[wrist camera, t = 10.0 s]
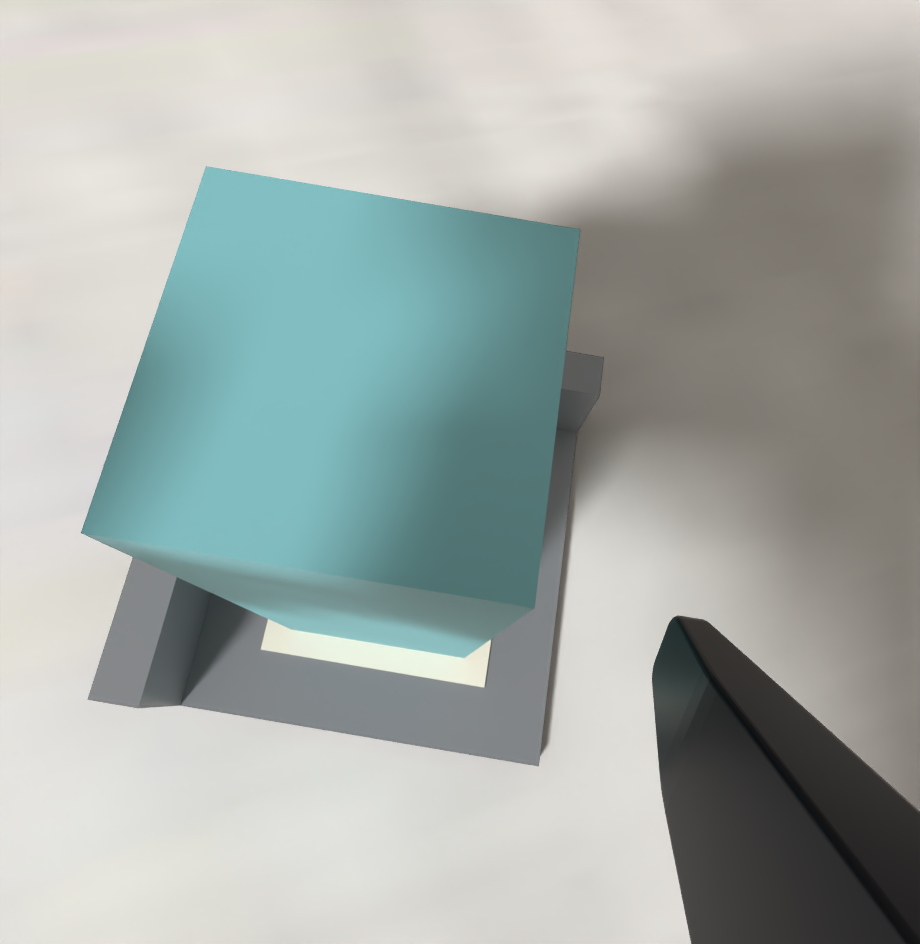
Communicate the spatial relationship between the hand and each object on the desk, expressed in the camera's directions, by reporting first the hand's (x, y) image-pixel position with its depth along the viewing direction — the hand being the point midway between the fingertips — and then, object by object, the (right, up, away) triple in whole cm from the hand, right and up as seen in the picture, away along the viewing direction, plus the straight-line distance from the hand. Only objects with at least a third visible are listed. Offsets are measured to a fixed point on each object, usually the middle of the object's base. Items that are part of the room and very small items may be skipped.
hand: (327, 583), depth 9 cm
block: (0, -1, +11) cm, 11 cm away
